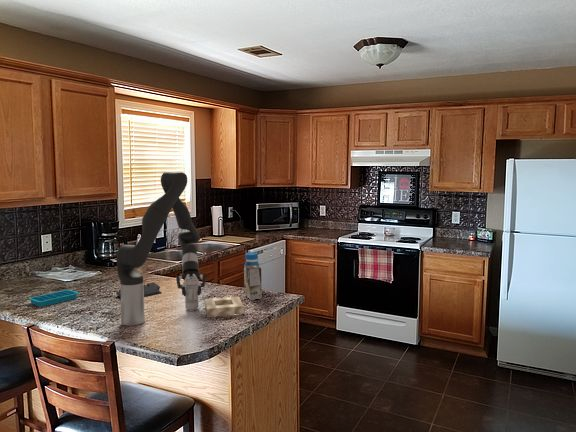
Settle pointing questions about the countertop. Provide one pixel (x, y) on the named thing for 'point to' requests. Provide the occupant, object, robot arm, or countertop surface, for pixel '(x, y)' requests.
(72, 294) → the ice cube tray
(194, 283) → the energy drink can
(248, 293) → the coffee box
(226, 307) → the socket board
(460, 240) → the countertop surface
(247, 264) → the beverage bottle
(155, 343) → the countertop surface
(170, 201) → the robot arm
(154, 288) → the dark slate chunk
